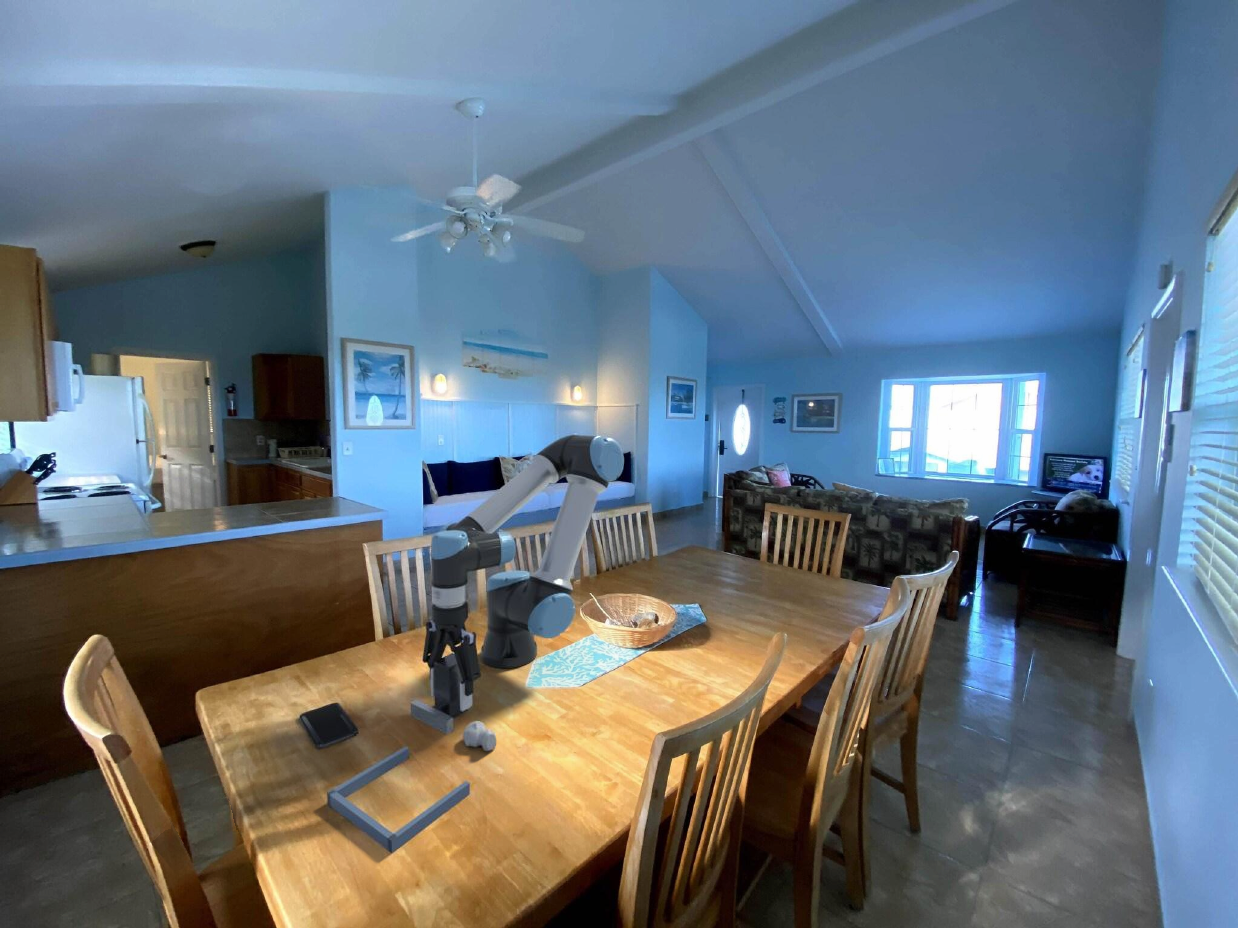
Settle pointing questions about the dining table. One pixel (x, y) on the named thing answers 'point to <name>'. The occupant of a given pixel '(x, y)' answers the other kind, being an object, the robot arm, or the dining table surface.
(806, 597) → the dining table surface
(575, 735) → the dining table surface
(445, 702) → the grey block with bar
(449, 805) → the frame
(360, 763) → the dining table surface
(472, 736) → the pale two-lobed sculpture
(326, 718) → the phone
